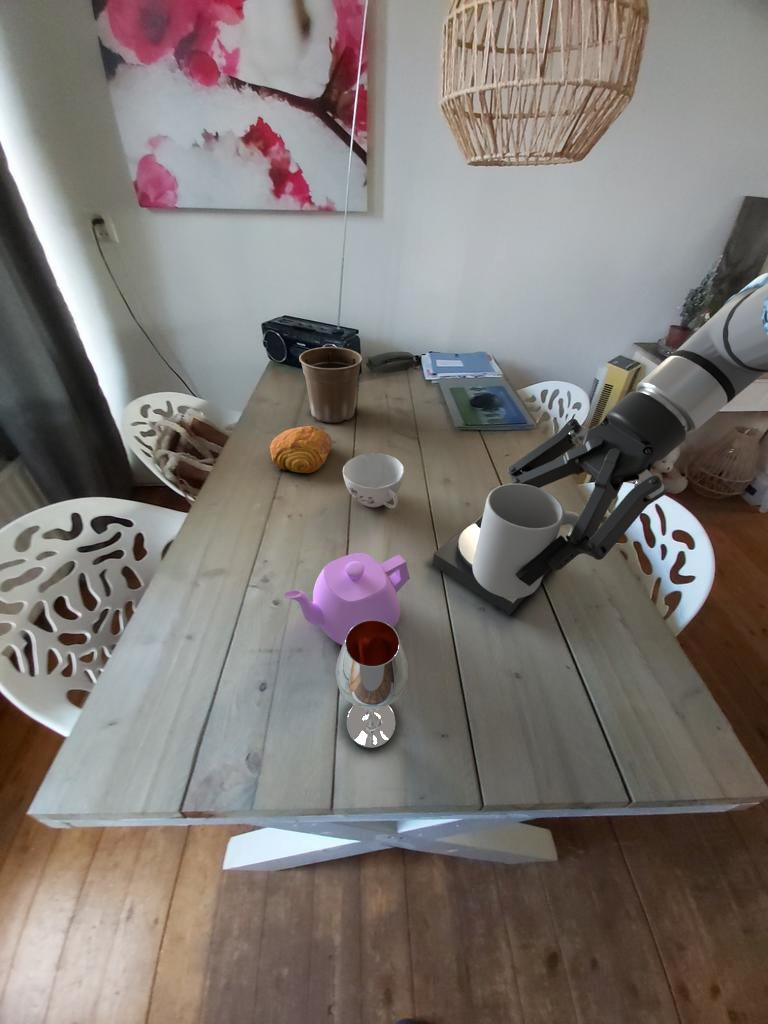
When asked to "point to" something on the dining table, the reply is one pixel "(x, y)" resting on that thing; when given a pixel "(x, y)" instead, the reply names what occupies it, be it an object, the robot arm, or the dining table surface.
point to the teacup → (374, 479)
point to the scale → (469, 574)
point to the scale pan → (468, 543)
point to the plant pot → (331, 382)
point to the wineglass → (371, 680)
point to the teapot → (354, 594)
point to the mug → (516, 536)
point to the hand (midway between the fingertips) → (501, 553)
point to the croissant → (301, 449)
